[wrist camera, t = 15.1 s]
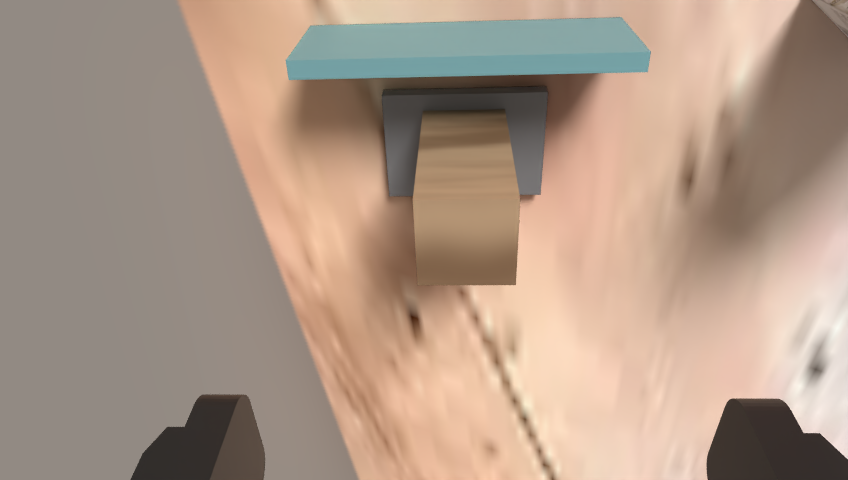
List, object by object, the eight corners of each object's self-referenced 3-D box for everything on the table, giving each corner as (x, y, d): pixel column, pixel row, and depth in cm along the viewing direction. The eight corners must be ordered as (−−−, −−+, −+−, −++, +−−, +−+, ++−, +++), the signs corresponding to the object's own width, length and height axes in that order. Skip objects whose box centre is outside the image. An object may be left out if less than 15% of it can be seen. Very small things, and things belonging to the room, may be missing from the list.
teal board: (310, 25, 37) (285, 60, 32) (621, 17, 36) (651, 51, 31) (312, 42, 38) (288, 79, 32) (619, 35, 37) (647, 72, 31)
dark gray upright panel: (383, 89, 39) (381, 95, 38) (546, 86, 38) (548, 92, 38) (390, 189, 43) (389, 196, 42) (538, 187, 42) (540, 194, 41)
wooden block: (422, 110, 39) (412, 200, 29) (504, 109, 38) (520, 199, 29) (426, 187, 41) (417, 290, 32) (502, 186, 41) (515, 290, 32)
